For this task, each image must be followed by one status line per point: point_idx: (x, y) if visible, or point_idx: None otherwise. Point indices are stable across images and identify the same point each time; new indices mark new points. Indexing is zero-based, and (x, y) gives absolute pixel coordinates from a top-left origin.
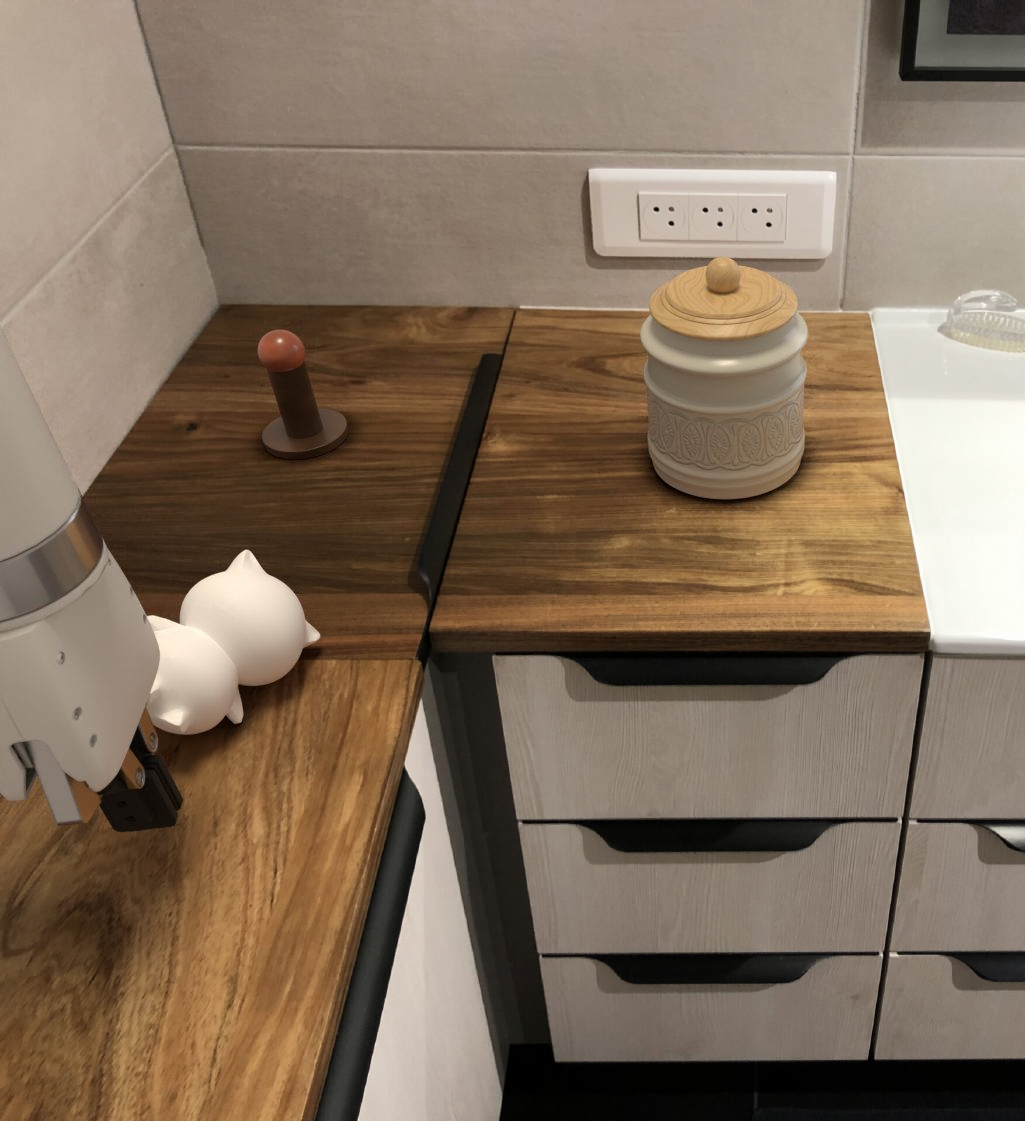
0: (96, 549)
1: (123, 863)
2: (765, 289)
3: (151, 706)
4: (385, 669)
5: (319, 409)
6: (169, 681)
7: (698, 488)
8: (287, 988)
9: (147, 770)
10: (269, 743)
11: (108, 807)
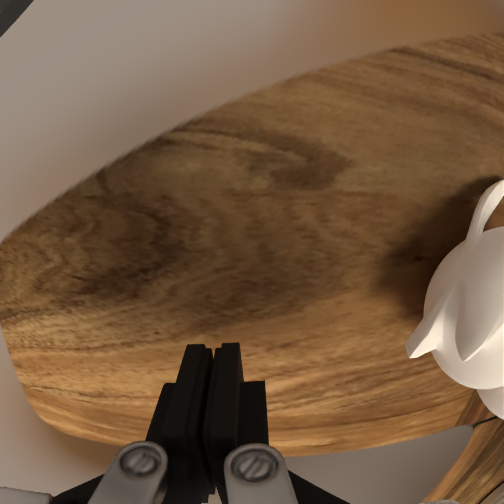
0: None
1: (229, 255)
2: None
3: (459, 306)
4: (452, 416)
5: None
6: (481, 358)
7: (493, 497)
8: (104, 426)
9: (210, 493)
10: (398, 360)
11: (153, 422)
